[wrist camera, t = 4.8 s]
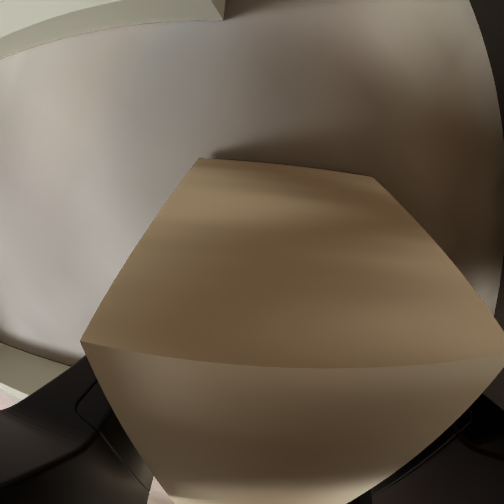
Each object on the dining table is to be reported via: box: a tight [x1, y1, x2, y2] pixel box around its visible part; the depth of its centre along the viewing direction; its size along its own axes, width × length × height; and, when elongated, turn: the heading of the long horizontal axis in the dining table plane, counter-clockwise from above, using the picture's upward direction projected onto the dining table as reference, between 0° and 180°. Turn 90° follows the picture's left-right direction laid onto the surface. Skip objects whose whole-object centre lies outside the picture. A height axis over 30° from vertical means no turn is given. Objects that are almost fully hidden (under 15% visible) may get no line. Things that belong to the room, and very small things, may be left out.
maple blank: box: [80, 158, 504, 504], centre depth 7 cm, size 4×7×6 cm, turn 175°
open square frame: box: [0, 0, 226, 400], centre depth 8 cm, size 14×16×2 cm
